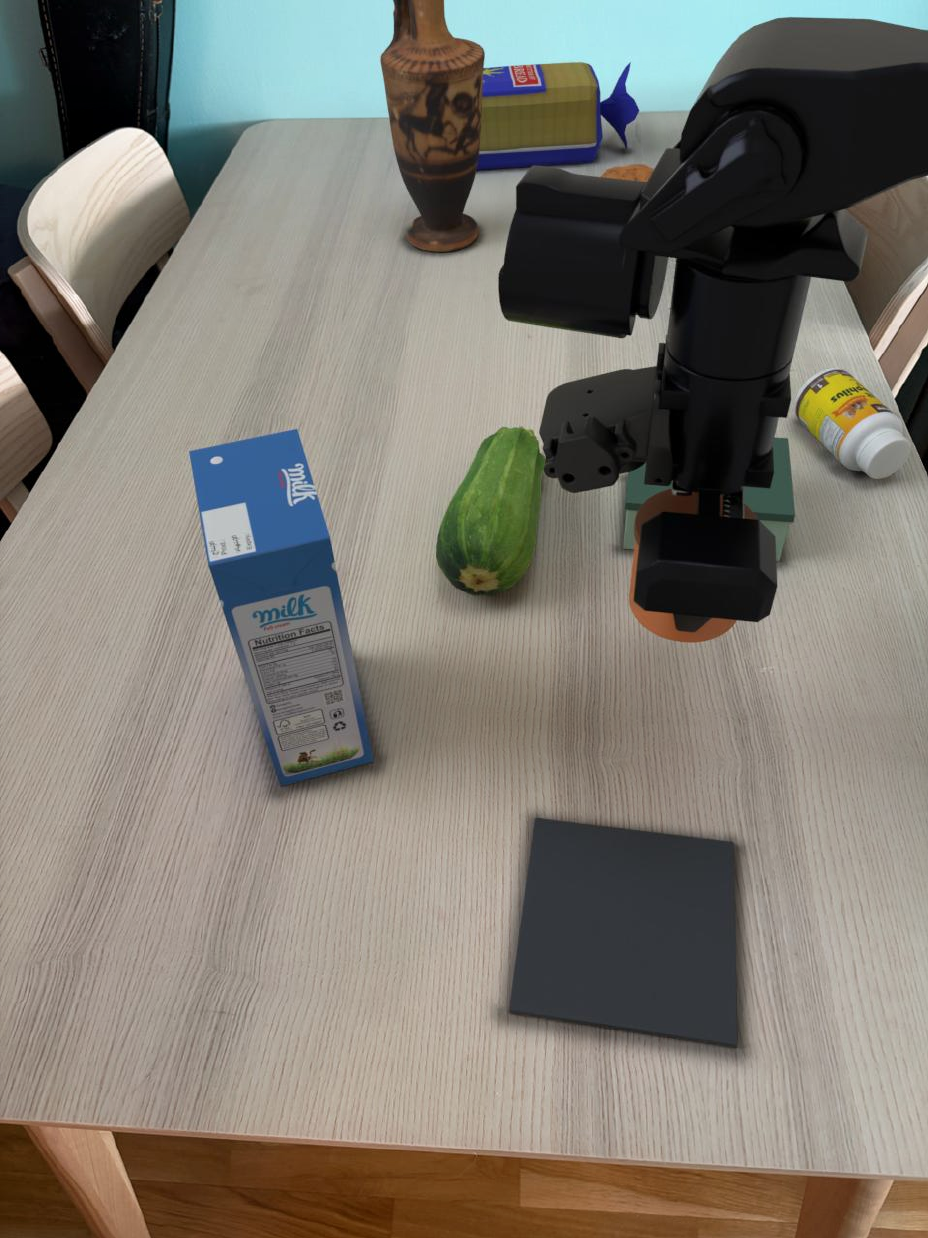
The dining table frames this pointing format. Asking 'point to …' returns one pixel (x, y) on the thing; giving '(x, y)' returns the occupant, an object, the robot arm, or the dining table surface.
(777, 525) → the storage box
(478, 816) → the dining table surface
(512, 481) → the vegetable
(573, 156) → the bread
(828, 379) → the supplement bottle
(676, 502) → the round tub
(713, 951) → the mat
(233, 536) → the milk carton
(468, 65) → the vase
